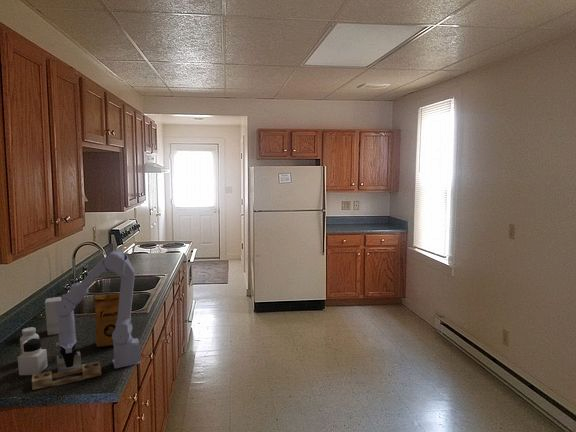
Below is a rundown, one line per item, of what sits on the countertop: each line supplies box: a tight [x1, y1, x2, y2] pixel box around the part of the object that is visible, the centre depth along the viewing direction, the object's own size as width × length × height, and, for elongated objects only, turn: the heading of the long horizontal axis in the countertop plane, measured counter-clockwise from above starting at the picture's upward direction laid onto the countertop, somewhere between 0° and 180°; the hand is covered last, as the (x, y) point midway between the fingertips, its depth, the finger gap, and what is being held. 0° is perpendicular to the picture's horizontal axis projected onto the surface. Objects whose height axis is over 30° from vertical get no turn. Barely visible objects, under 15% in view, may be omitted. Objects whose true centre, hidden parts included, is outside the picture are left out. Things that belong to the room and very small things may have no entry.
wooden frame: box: [31, 360, 102, 391], centre depth 161 cm, size 22×7×3 cm, turn 118°
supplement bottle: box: [19, 326, 40, 355], centre depth 176 cm, size 7×7×13 cm
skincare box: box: [44, 296, 62, 336], centre depth 206 cm, size 8×7×16 cm
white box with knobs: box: [56, 350, 82, 373], centre depth 169 cm, size 8×4×6 cm, turn 118°
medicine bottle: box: [17, 338, 49, 376], centre depth 167 cm, size 7×7×12 cm
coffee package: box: [93, 292, 120, 348], centre depth 191 cm, size 10×12×22 cm
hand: (69, 364), depth 170 cm, fingers closed on white box with knobs, 4 cm apart
